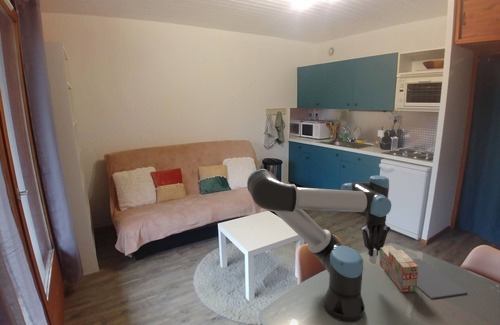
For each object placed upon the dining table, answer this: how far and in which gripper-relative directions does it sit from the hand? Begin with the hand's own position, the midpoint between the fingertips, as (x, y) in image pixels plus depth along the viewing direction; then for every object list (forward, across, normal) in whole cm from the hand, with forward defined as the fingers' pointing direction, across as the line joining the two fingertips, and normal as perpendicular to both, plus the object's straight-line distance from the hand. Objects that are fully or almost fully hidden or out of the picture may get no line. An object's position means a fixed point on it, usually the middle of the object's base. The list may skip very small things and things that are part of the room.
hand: (372, 262), depth 120 cm
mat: (+10, +25, -2) cm, 27 cm away
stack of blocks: (+9, +13, 0) cm, 16 cm away
